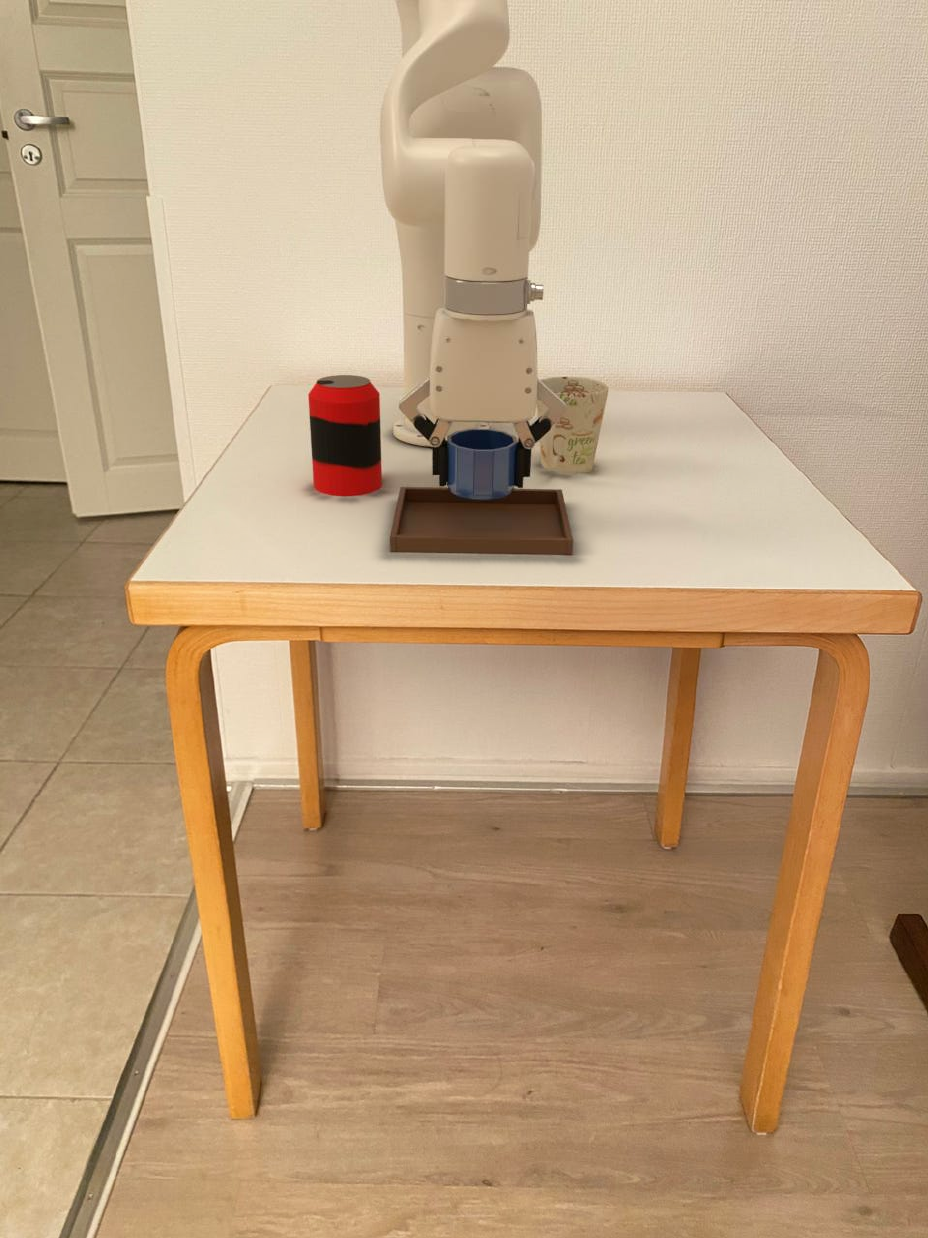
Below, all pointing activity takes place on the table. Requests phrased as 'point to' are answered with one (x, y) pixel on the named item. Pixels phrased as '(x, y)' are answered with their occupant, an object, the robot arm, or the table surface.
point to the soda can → (345, 435)
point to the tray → (481, 523)
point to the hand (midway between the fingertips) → (480, 481)
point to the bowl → (481, 463)
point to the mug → (573, 424)
